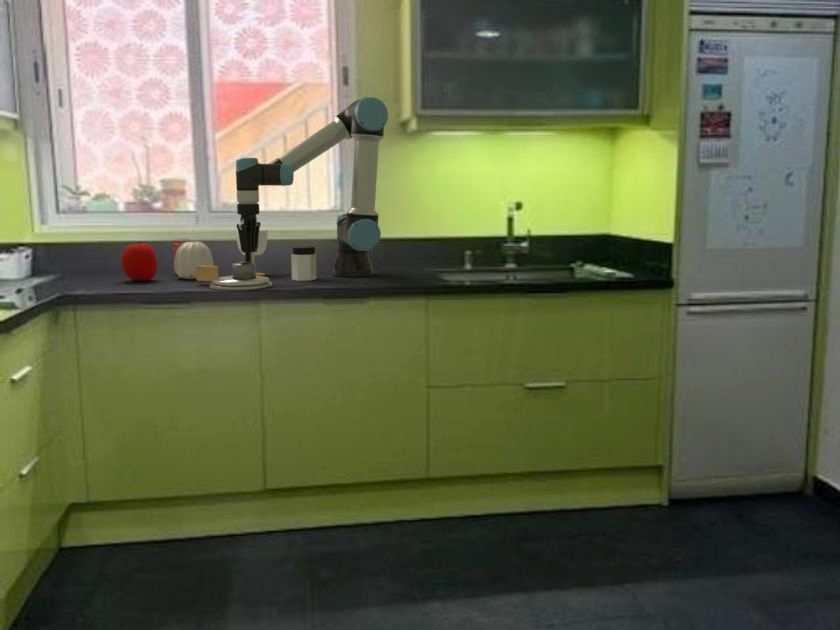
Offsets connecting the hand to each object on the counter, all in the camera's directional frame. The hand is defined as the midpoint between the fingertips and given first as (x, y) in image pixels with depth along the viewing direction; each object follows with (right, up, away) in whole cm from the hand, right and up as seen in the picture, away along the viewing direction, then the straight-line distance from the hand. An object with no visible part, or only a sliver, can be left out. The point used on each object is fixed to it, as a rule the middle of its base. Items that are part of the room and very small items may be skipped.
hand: (250, 270), depth 288 cm
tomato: (-41, -3, +7) cm, 42 cm away
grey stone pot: (-1, -3, -4) cm, 5 cm away
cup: (-4, 0, +25) cm, 25 cm away
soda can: (-31, 0, +28) cm, 42 cm away
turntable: (-5, -4, -5) cm, 8 cm away
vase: (-24, -2, +15) cm, 28 cm away
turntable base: (-2, -6, -6) cm, 8 cm away
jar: (+17, -3, +12) cm, 21 cm away
